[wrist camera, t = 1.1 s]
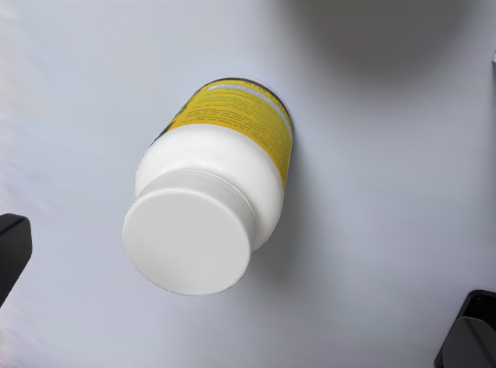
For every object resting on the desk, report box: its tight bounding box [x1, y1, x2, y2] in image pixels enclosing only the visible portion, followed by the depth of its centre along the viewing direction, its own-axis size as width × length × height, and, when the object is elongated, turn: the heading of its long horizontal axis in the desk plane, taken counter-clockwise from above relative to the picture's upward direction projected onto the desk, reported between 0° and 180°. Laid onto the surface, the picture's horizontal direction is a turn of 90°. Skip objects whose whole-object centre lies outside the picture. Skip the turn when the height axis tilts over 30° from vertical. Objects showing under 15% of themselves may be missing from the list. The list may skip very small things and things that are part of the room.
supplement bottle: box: [122, 76, 293, 296], centre depth 17 cm, size 5×5×10 cm
